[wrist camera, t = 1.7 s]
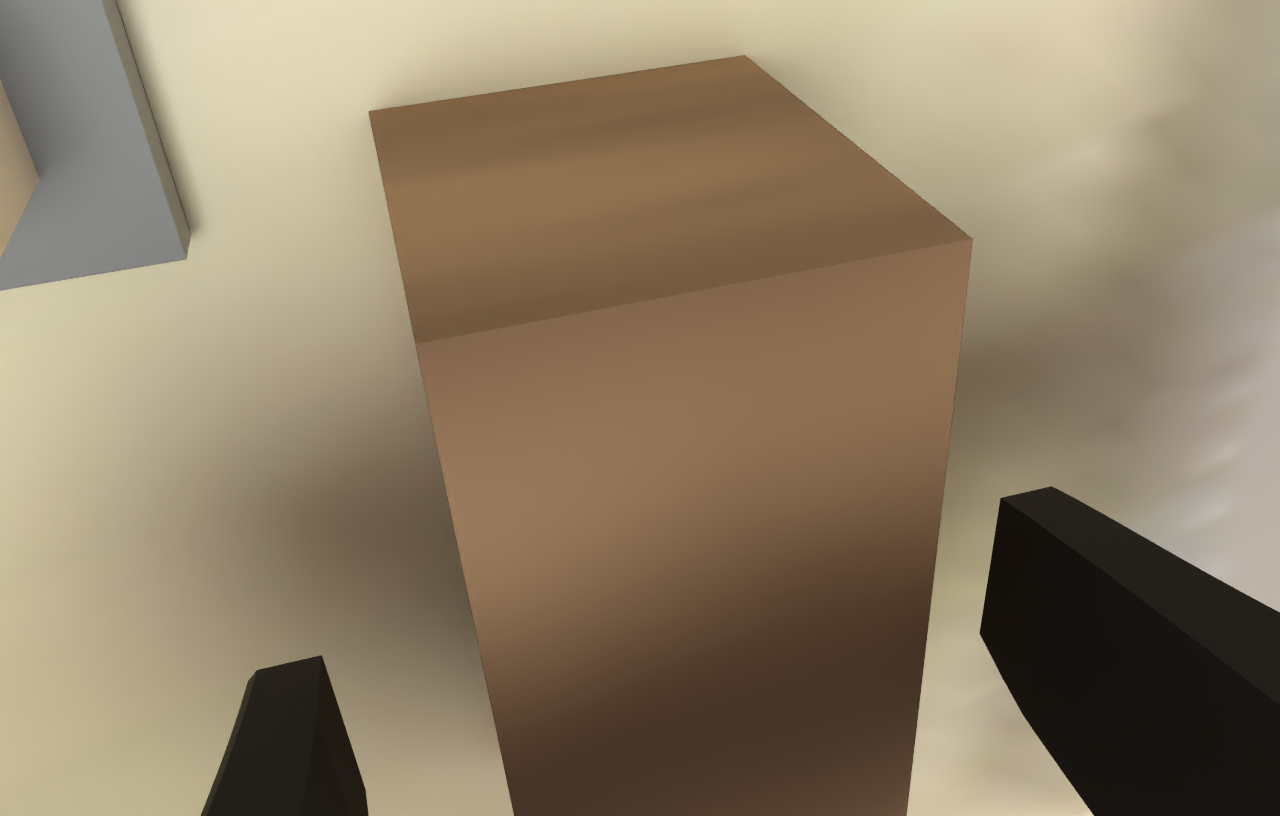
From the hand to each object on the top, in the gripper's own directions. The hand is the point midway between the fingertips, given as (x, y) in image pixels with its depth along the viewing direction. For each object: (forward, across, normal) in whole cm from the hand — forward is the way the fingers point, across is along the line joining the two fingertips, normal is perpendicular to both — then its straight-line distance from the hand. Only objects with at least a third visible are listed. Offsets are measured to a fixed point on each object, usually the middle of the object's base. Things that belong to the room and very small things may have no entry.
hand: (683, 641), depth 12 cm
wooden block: (+3, 0, 0) cm, 4 cm away
